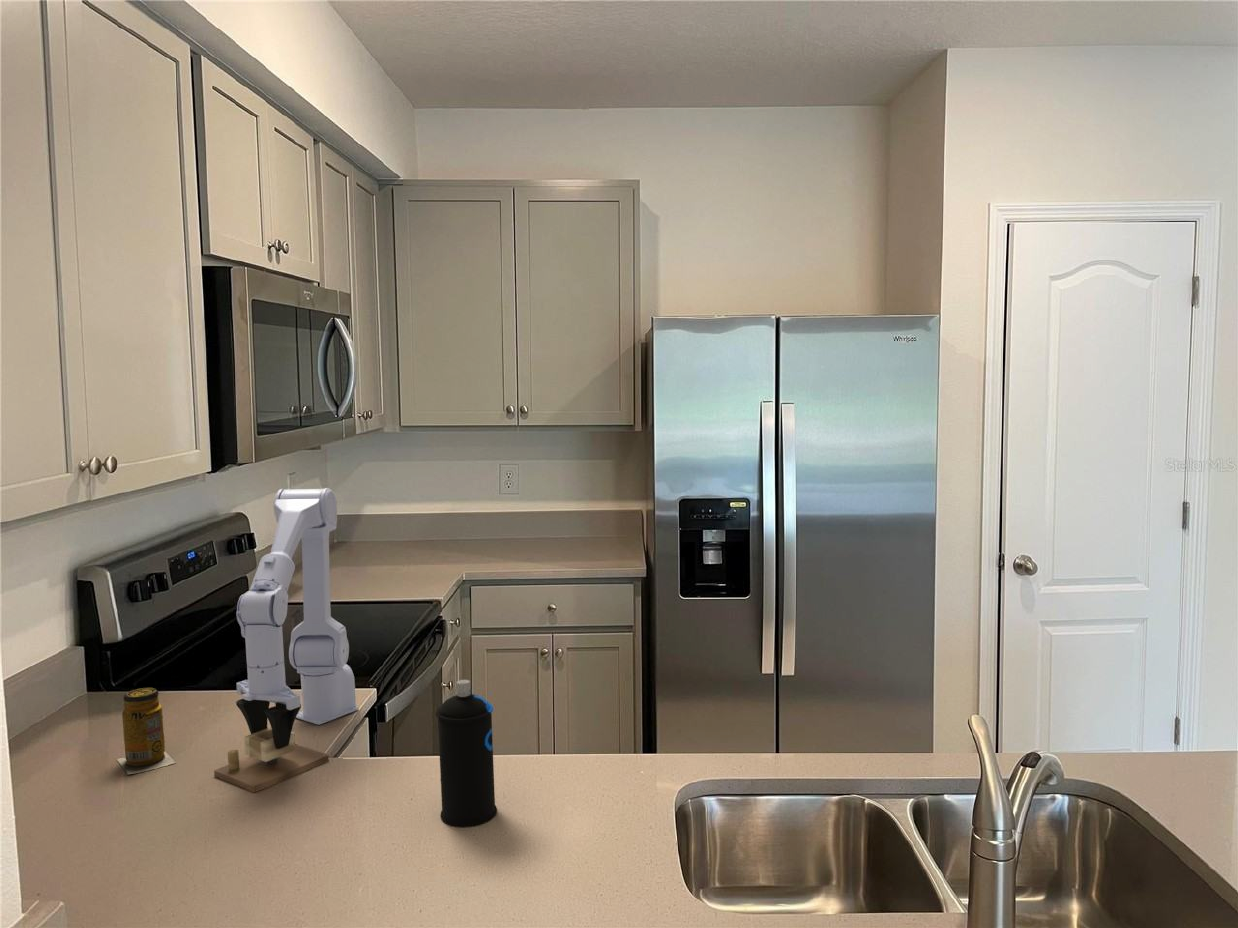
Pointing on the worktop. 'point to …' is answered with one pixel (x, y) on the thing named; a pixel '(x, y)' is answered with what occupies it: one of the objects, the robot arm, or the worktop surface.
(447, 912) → the worktop surface
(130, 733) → the condiment
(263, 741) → the ring
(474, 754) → the aerosol can
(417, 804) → the worktop surface
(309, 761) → the post board
